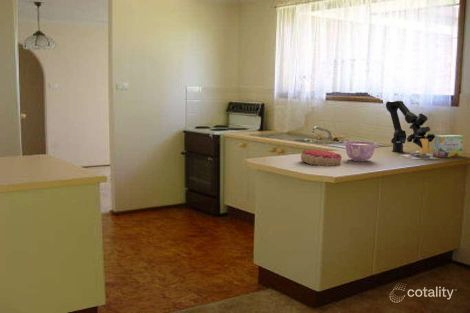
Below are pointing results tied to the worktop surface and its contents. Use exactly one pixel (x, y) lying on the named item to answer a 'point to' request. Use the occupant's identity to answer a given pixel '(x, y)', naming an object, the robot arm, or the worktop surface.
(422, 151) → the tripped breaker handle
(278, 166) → the worktop surface
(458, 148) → the snack box
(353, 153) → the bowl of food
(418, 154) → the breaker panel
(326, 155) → the cake
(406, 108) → the robot arm
